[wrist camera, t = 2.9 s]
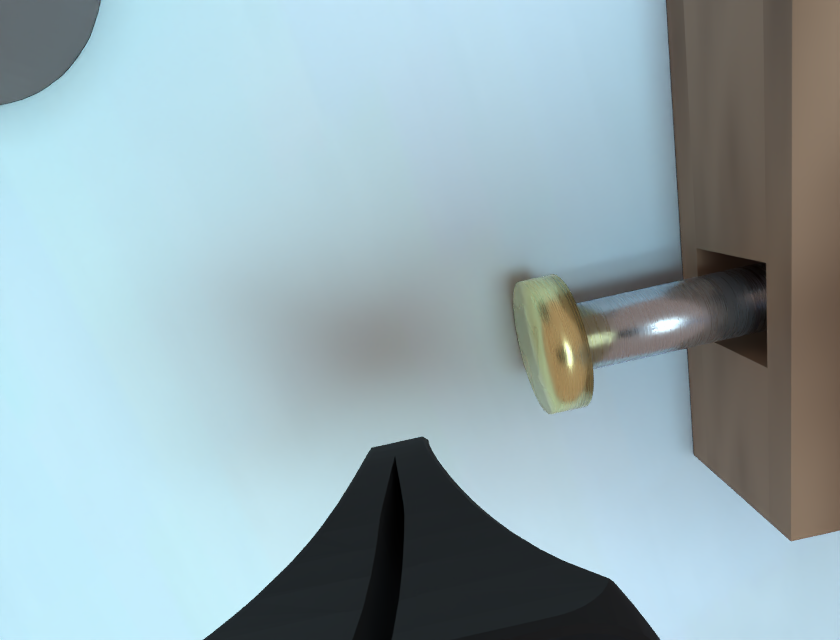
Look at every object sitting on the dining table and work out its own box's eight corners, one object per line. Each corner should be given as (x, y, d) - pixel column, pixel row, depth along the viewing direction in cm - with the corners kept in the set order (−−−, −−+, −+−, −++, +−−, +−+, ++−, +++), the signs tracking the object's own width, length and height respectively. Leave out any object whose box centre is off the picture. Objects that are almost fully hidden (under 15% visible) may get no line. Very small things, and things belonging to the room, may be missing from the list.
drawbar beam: (861, -89, 17) (1082, -217, 11) (843, 421, 22) (987, 497, 17) (663, -46, 17) (792, -153, 11) (693, 454, 22) (790, 541, 17)
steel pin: (736, 220, 19) (846, 231, 14) (739, 334, 20) (841, 378, 16) (506, 270, 19) (543, 298, 14) (524, 381, 20) (564, 440, 16)
